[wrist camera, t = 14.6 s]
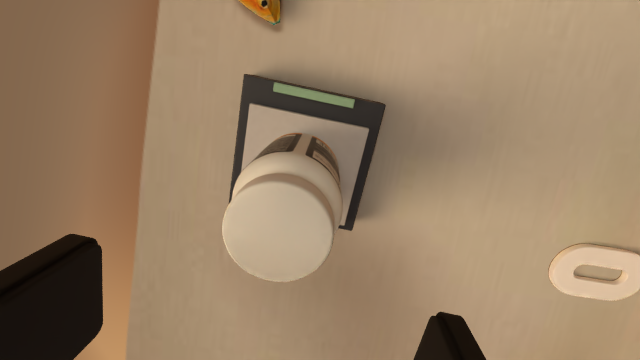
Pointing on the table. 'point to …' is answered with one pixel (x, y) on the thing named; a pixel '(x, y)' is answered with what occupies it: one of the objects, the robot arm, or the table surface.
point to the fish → (264, 9)
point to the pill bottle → (285, 209)
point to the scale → (310, 130)
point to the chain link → (634, 267)
